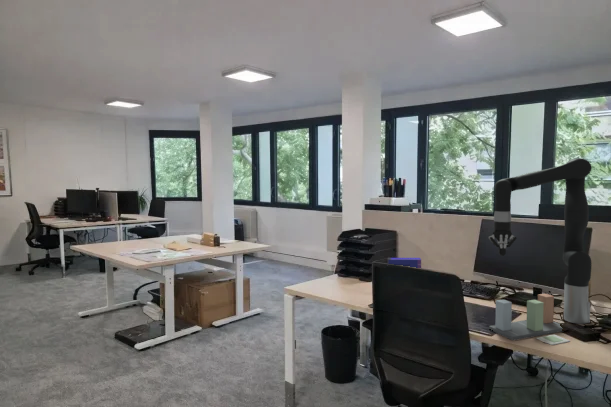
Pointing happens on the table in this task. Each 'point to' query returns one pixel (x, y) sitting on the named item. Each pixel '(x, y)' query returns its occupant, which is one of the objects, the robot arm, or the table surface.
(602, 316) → the table surface
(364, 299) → the table surface
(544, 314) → the terracotta block
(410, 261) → the cereal box
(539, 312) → the sage block
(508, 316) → the greyblue block
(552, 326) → the board
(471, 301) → the table surface
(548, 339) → the card
